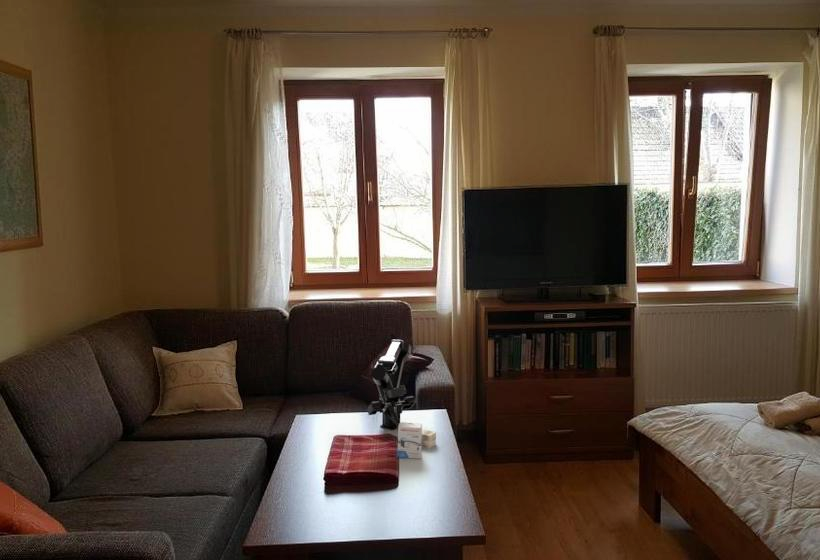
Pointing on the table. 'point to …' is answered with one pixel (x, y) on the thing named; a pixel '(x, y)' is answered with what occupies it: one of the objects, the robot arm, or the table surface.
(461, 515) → the table surface
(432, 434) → the birch block
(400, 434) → the ink box
